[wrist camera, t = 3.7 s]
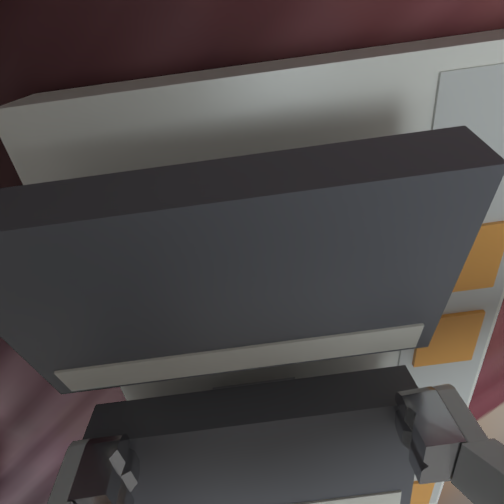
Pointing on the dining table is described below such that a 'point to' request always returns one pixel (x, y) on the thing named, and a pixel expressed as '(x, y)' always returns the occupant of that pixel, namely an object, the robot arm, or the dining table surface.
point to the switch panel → (290, 137)
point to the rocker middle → (269, 442)
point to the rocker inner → (241, 258)
